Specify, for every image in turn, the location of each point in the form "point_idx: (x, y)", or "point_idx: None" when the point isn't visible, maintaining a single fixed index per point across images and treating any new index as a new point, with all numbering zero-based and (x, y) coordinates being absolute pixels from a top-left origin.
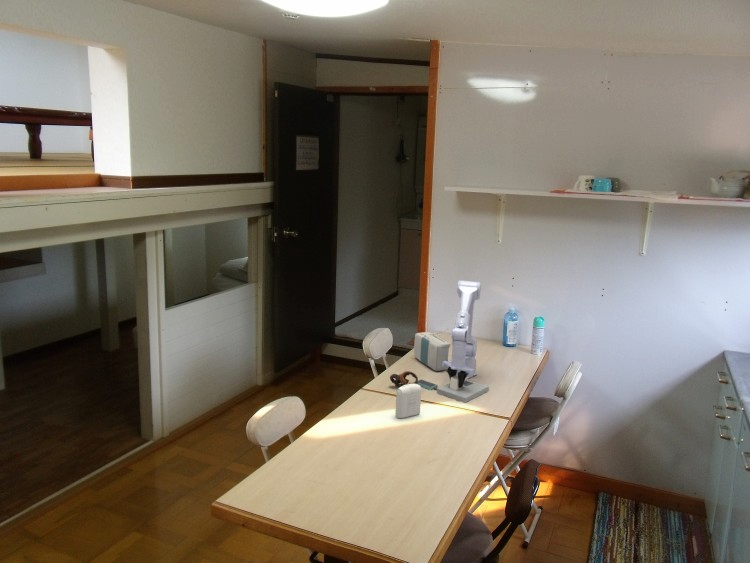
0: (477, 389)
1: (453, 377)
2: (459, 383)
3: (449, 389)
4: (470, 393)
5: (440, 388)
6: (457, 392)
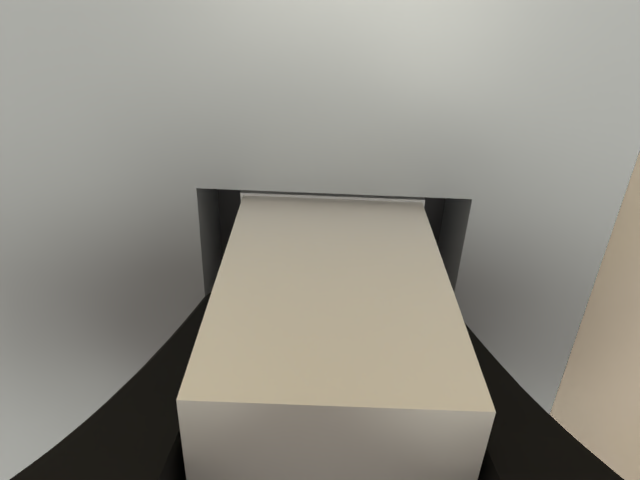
0: (10, 463)
1: (406, 468)
2: (171, 356)
3: (390, 124)
4: None
5: (626, 7)
6: (129, 96)
